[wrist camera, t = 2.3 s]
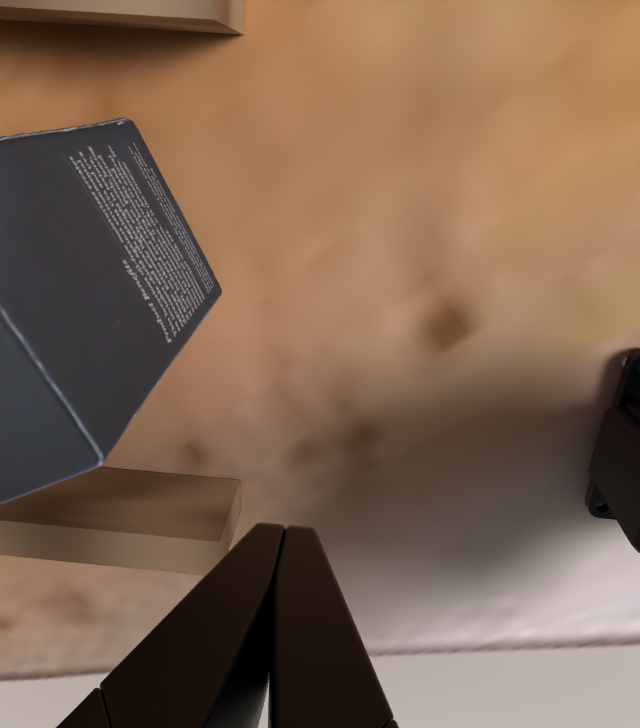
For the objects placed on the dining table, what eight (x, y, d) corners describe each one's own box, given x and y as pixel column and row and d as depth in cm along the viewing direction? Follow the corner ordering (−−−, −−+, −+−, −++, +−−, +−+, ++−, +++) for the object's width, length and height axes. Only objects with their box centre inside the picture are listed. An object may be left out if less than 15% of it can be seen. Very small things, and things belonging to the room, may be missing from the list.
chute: (244, -29, 16) (213, -61, 13) (240, 512, 23) (220, 576, 20) (-149, -51, 17) (-271, -87, 13) (-32, 485, 24) (-94, 545, 21)
